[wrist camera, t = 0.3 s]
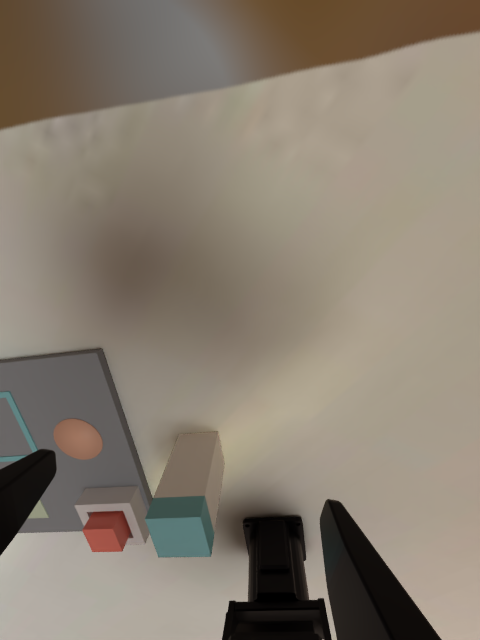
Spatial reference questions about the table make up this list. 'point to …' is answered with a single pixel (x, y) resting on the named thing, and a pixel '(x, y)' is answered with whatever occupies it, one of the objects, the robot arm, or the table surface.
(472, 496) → the table surface
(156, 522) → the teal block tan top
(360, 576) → the robot arm
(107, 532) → the button
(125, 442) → the picture board
